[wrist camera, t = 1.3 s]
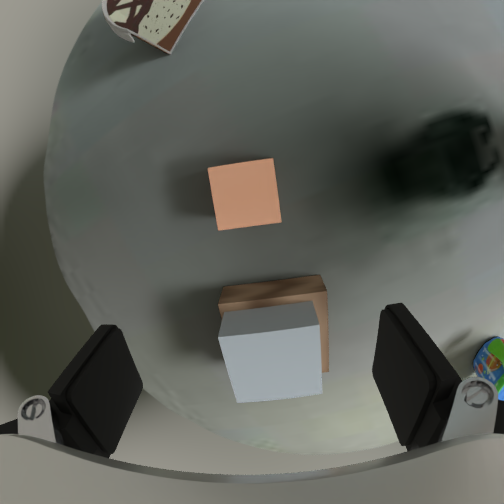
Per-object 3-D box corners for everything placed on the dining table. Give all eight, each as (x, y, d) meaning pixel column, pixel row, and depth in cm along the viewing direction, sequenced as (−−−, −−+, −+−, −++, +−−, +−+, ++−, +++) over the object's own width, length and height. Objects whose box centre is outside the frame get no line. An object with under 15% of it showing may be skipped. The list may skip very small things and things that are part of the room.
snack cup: (507, 358, 36) (532, 388, 26) (468, 390, 38) (490, 424, 29) (504, 306, 32) (539, 337, 23) (460, 344, 35) (491, 384, 25)
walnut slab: (319, 273, 32) (326, 290, 28) (323, 349, 36) (328, 371, 31) (223, 285, 33) (217, 304, 29) (240, 358, 37) (237, 381, 32)
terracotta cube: (271, 158, 28) (272, 158, 23) (278, 210, 30) (281, 222, 25) (217, 165, 29) (207, 168, 23) (226, 217, 30) (218, 230, 25)
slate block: (312, 300, 28) (319, 324, 24) (316, 366, 31) (322, 393, 27) (224, 312, 29) (217, 337, 25) (240, 375, 32) (237, 402, 28)
